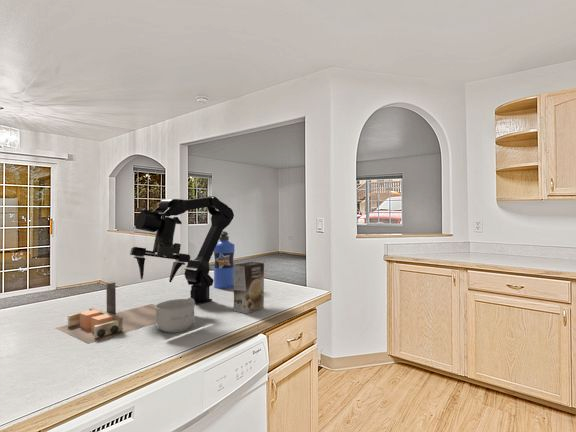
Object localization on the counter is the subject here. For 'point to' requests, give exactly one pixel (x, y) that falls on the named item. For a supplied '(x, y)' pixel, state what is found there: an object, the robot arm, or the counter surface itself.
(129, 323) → the board
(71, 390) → the counter surface
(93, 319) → the block
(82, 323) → the block
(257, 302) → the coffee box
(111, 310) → the wooden pusher with handle
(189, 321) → the teacup
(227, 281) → the water bottle
